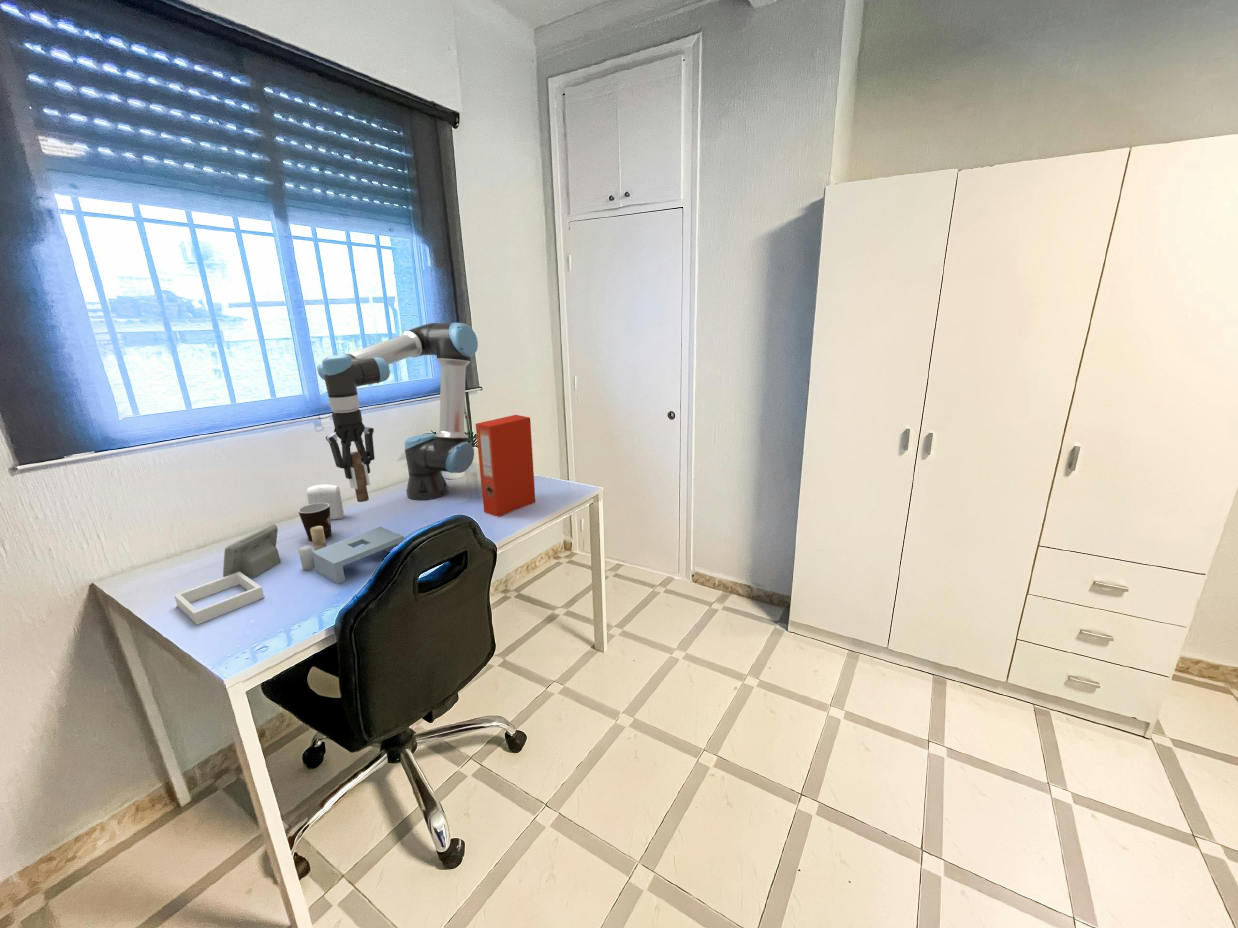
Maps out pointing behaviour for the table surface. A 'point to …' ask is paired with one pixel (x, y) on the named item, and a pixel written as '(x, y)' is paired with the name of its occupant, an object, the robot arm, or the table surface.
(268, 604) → the table surface
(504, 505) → the file binder
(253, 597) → the frame
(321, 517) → the coffee mug
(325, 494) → the photo printer
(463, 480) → the table surface
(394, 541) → the bridge
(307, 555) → the short dowel
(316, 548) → the medium dowel
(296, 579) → the table surface
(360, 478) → the long dowel
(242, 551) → the digital clock
